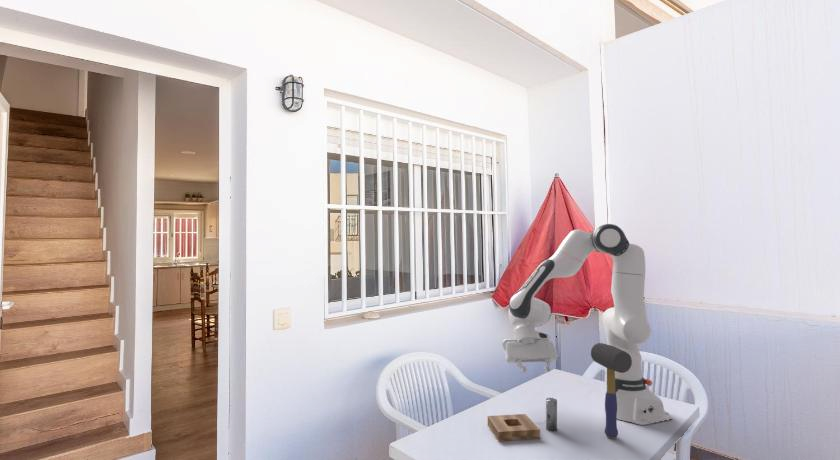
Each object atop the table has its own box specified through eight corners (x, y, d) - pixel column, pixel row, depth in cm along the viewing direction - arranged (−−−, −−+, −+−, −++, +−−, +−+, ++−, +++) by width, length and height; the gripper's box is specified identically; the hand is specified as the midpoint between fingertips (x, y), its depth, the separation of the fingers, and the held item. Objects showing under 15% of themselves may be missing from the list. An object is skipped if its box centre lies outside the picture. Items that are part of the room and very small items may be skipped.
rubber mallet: (635, 445, 129) (634, 350, 130) (615, 447, 128) (614, 351, 128) (608, 427, 142) (607, 340, 142) (589, 429, 140) (588, 342, 141)
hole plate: (525, 422, 145) (525, 413, 145) (539, 438, 133) (539, 429, 134) (487, 424, 144) (487, 416, 144) (498, 441, 132) (498, 431, 132)
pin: (554, 426, 142) (554, 397, 143) (559, 431, 139) (558, 401, 139) (544, 427, 142) (544, 398, 142) (549, 431, 138) (548, 402, 139)
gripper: (503, 335, 160) (511, 368, 150) (552, 334, 162) (564, 366, 152) (499, 344, 164) (507, 376, 154) (547, 342, 166) (558, 374, 157)
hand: (536, 371), depth 153 cm, fingers open, 8 cm apart
